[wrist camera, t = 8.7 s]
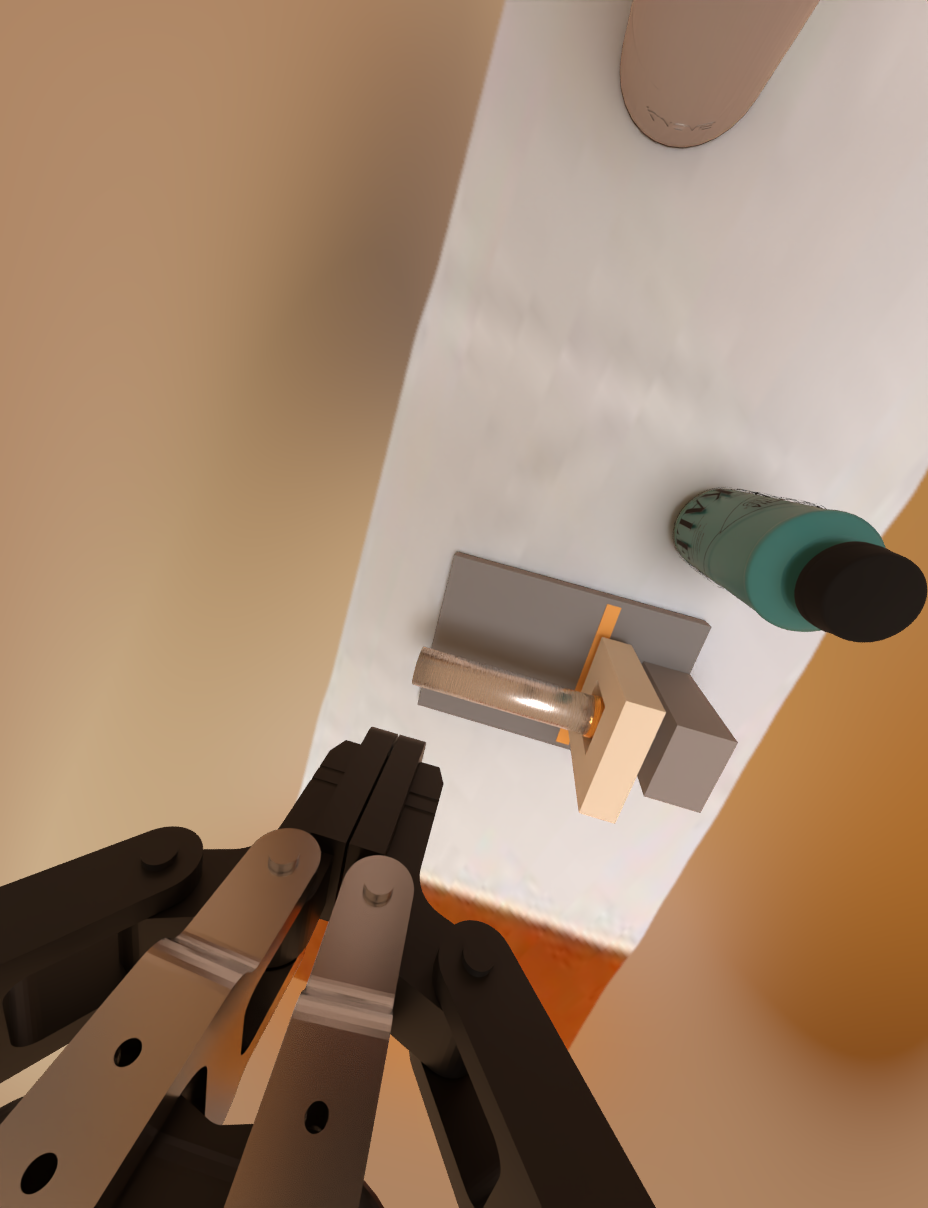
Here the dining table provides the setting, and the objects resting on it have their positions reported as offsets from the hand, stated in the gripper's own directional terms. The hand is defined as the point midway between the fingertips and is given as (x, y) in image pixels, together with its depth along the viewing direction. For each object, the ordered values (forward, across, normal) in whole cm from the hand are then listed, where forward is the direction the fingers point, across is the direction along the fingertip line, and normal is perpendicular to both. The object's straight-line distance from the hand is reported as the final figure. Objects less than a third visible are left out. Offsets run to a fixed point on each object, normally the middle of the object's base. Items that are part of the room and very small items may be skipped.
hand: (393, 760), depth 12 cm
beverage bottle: (+30, -16, -5) cm, 35 cm away
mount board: (+30, -7, +10) cm, 32 cm away
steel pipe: (+23, -7, +10) cm, 26 cm away
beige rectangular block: (+27, -12, +10) cm, 31 cm away
